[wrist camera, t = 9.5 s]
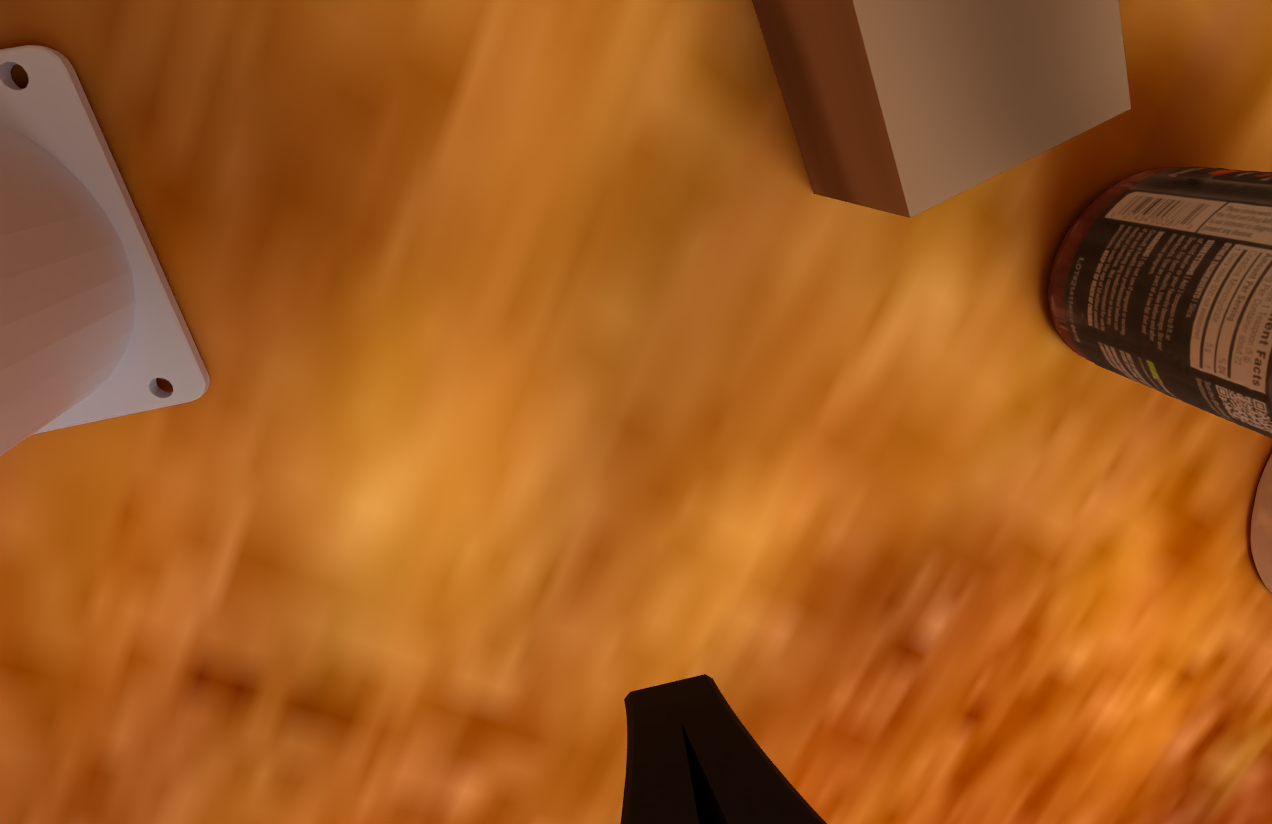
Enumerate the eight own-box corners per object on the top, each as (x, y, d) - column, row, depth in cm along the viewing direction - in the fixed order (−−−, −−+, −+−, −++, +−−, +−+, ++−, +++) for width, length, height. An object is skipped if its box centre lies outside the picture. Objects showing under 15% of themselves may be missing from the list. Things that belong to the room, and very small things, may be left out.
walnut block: (812, 193, 19) (909, 218, 15) (749, -4, 17) (840, -46, 13) (980, 110, 19) (1131, 108, 15) (938, -97, 17) (1098, -175, 12)
